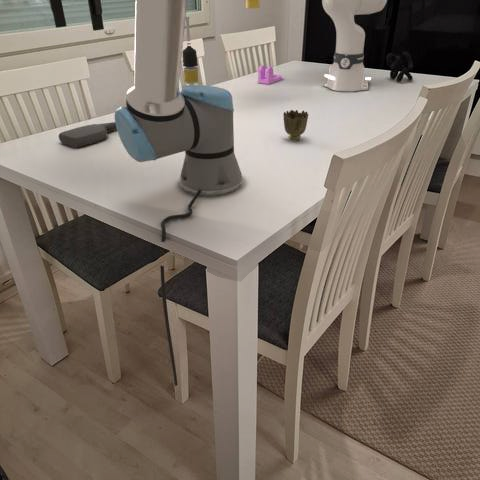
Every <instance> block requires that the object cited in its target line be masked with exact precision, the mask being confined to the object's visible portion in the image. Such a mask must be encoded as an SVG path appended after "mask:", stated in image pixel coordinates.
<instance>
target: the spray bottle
mask: <svg viewBox="0 0 480 480" xmlns="http://www.w3.org/2000/svg"><path fill="white" fill-rule="evenodd" d="M113 131H117V128H116V124H115V121H112V122H105V123H104V122H103V123H93V124H87V125H82V126H78V127H75V128H71V129H68V130H64V131H61V132H60V133H59V134H58V139H59V141H60V143H61V144H64V145H67V146H70V147H72V148H80V147H85V146H89V145H92V144H95V143H99V142H101V141H103V140H105V139H106V138H107V136H108V133H109V132H113Z"/></svg>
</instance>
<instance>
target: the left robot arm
mask: <svg viewBox="0 0 480 480" xmlns="http://www.w3.org/2000/svg"><path fill="white" fill-rule="evenodd" d="M48 1H49V6H50V10H51V12H52V16H53V22H54V26H55V28H65V27H67V21H66V16H65V11H64V7H63V6H64V5H63V1H62V0H48ZM87 3H88V9H89V15H90V21H91V27H92V31H103V30H105V27H104V21H103V7H102V1H101V0H87ZM187 4H188V0H135V5H134V7H135V10H134V11H135V13H134V15H135V16H134V18H135V19H134V21H135V22H134V75H133V76H134V78H133V79H134V80H133V86H131V87H130V88H129V89H128V90H127V91H126V93H125V94H126V95H125V106H120V107H119V108H117V109H116V110H115V112H114V122H115V124H116V128H117V130H116V131H117V134H118V137H119V140H120V141H121V144H122V145H123V147H124V149H125V151H126V152H127V154H128V155H129V156H130V157H131V158H132V159H133V160H134V161H136V162H139V163H146V162H150V161H157V160H159V159H161V158H166V157H169V156H172V155H176V154H179V153H183V152H184V154H185V155H184V158H183V164H182V168H181V171H180V177H179V178H180V179H179V183H180V184H179V185H180V188H181V189H182V191H184V192H186V193H187V194H190V195H194V196H193V197H192V199H191V201H190V202H189V204H188V205H187V211H188V212H186V213H183V214H174V215H173V214H172V215H169V216H166V217H165V218H164V219H162V220H161V222H160V228H161V239H160V241H161V243H164V242H166V225H165V224H166V223H167V222H169V221H171V220H176V219H185V218H188V217H190V216H192V214H193V209H192V207H193V205H194V203H195V202H196V201H197V199H198V197H221V196H224V195H229V194H232V193H234V192H235V191H237V190H239V189H240V188H241V187H242V185H243V174H242V171H241V168H240V165H239V163H238V160H237V157H236V154H235V133H234V111H235V108H234V102H233V96H232V93H231V91H229V90H227V89H225V88H223V87H218V86H213V85H205V84H204V85H203V84H186V85H183V86H181V87H180V77H181V69H182V60H183V53H182V52H183V47H184V36H185V28H186V23H185V17H187V14H186V13H187ZM159 267H160V269H159V270H160V284H161V285H160V286H161V297H162V307H163V316H164V322H165V328H166V336H167V343H168V348H169V355H170V361H171V369H172V374H173V375H172V376H173V385H174V387H175V386H176V387H177V386H179V383H178V377H177V368H176V361H175V355H174V347H173V342H172V341H173V340H172V334H171V329H170V321H169V313H168V312H169V311H168V303H167V295H166V279H165V266H164V265H161V264H160V265H159Z"/></svg>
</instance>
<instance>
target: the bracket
mask: <svg viewBox="0 0 480 480" xmlns="http://www.w3.org/2000/svg"><path fill="white" fill-rule="evenodd" d="M282 79H283V76H282V75H281V74H274V68H273V66H265V65H259V67H258V69H257V83H258V84H265V85H270V84H273V83H276V82H279V81H281V80H282Z"/></svg>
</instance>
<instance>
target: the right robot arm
mask: <svg viewBox="0 0 480 480" xmlns="http://www.w3.org/2000/svg"><path fill="white" fill-rule="evenodd" d="M387 2H388V0H321V4H322V8H323V10H324V12H325V13H326V14H327V15H328V16H329V18H330V19H331V20H332V22H333V23H334V27H335V32H336V34H335V35H336V37H335V38H336V39H335V51H334V53H333V54H334V55H333V60H332V61H333V63H332V64H331V65H330V66H329V69H328V74H326V73H325V74H324V77H325V78H327V82H324V83H323V87H324V88H327V89H330V90H333V91H338V92H359V91H368V90H369V81H371V79H372V77H366V76H365V73H366V68H365V65H364V58H365V53H364V50H365V49H364V47H365V41H366V32H365V30H364V28H363V27H361V26H360V25H358V24H357V23H356V22H355V16H357V15H371V14H375V13H378V12H381V11H383V9H384V8H385V6H386V5H387Z"/></svg>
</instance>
